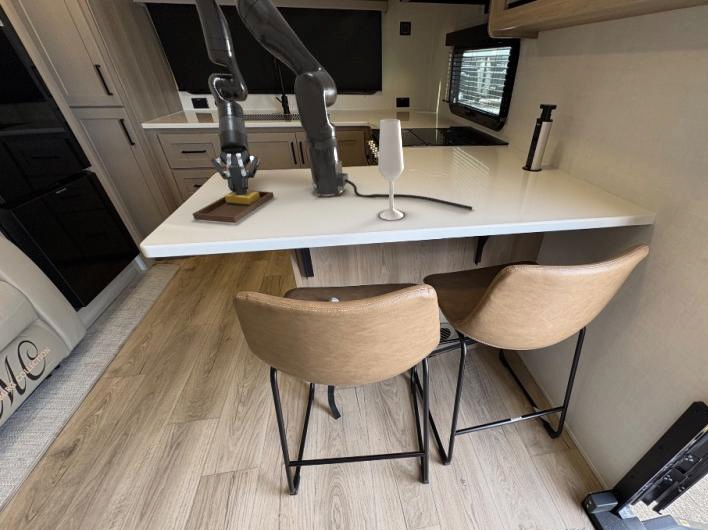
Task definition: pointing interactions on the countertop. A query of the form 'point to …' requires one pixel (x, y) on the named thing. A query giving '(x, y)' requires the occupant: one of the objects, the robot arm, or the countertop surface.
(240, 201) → the grey post with base
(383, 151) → the champagne flute
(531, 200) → the countertop surface
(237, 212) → the tray
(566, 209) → the countertop surface
